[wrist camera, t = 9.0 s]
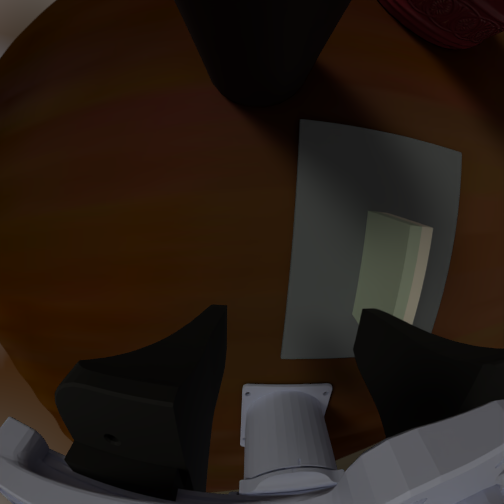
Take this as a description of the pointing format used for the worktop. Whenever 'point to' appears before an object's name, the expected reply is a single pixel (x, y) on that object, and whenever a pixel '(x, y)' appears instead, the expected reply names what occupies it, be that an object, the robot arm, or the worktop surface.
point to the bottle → (260, 43)
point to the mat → (360, 226)
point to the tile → (392, 265)
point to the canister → (450, 20)
